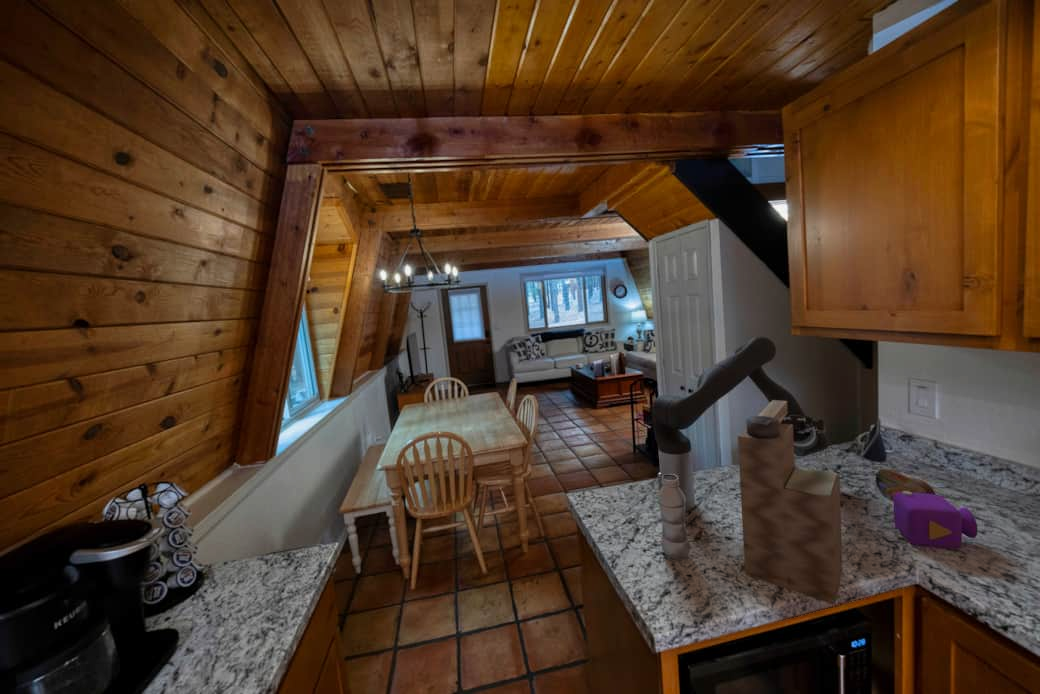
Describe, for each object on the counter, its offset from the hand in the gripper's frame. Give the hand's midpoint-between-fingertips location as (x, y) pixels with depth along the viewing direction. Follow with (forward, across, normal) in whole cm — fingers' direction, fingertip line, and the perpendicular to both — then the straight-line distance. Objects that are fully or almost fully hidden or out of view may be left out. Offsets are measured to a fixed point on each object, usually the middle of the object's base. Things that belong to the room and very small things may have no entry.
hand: (787, 417), depth 105 cm
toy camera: (-21, +27, +21) cm, 40 cm away
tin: (-35, +22, +13) cm, 43 cm away
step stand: (+5, +4, +36) cm, 36 cm away
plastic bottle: (+12, -19, +40) cm, 45 cm away
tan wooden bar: (+17, 0, +6) cm, 18 cm away
